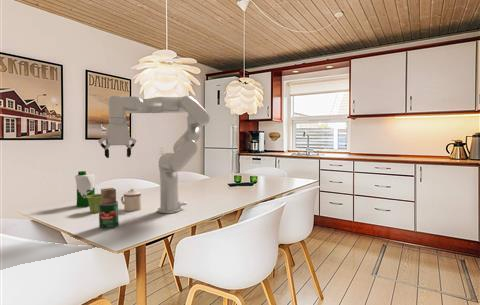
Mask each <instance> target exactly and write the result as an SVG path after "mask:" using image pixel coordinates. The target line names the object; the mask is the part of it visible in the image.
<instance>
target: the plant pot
mask: <svg viewBox="0 0 480 305" xmlns="http://www.w3.org/2000/svg"><path fill="white" fill-rule="evenodd" d="M86 198H87V200H88V202H89V212H90V213H91V214H95V213H99V203H100V202H101V193H95V194H94V195H88V196H86Z"/></svg>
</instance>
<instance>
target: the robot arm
mask: <svg viewBox="0 0 480 305" xmlns="http://www.w3.org/2000/svg"><path fill="white" fill-rule="evenodd" d="M126 113H127V114H167V113H168V114H169V113H170V114H180V113H181V114H183V113H187V116H186V123H187V128H186V130H185V132H184V133H183V134H181V136H180V137H179V138H178V139H177V140H176V141H175V143H174V144H173V152H165V153H163V154H161V156H160V157H159V159H158V170H159V180H160V181H159V192H160V193H159V194H160V195H159V196H160V198H159V199H160V204H159V208H157V212H158V213H159V214H173V213H174V214H175V213H179V212H180V211H181V210H182V206H187V201H179V174H178V172H180V171H182V170H183V169H185V167H186V166H187V165H188V164H189V163H190V161H191V160H193V158H194V157H195V156H196V154H197V152H198V144H197V142H198V141H199V139H200V137H201V134H202V132H201V131H202V129H201V127H203V126H206V125H208V124H209V122H210V119H211V118H210V115H209V114H210V113H208V111H207V110H206V109H205V108H204V107H203V106H202V105H201V104H200V103H199V102H198V101H197V100H196V99H194V97H192V96H190V95H184V96H156V97H151V98H140V97H138V96H122V95H110V96H109V97H108V124H107V125H106V130H105V136H104V137H102V138H99V139H98V140H97V142H98V143H99V145H100V147H101V148H102V149H104V157H105V158H107V159H109V158H110V149H109V148H110V146H125V147H126V148H127V149H126V157H127V158H131V155H132V149H133V147H134V146H135V145H136V142H137V140H136V139H135V138H132V137H131V136H130V132H129V126H128V124H129V123H130V120H129V119H127V114H126ZM104 141H105V144H104V143H103V142H104ZM130 142H131V144H130Z"/></svg>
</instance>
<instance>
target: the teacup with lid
mask: <svg viewBox="0 0 480 305" xmlns="http://www.w3.org/2000/svg"><path fill="white" fill-rule="evenodd" d="M120 202H121V204H122V205H124V206H123V207H124V211H126V212H136V211H137V212H138V211H139V210H142V209H141V208H142V192H141V191H138V190H135V188H130V189H129V191H126V192H125V193H123V196H121V198H120Z"/></svg>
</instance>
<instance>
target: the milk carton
mask: <svg viewBox="0 0 480 305" xmlns="http://www.w3.org/2000/svg"><path fill="white" fill-rule="evenodd" d="M74 178H75V182H76V183H75V184H76V207H81V208H88V207H89V202H88V200H87V198H86V196H88V195H94V194H96V193H95V189H96V188H95V181H96V180H95V179H96V174H92V173H91V174H90V173H88V174H87V171H86V170H83V171H82V170H81V171H78V172H77V174H76V175H74ZM89 208H90V207H89Z"/></svg>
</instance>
